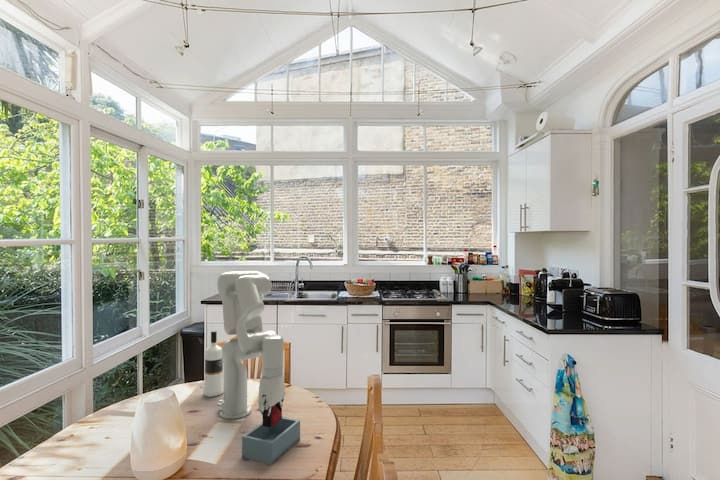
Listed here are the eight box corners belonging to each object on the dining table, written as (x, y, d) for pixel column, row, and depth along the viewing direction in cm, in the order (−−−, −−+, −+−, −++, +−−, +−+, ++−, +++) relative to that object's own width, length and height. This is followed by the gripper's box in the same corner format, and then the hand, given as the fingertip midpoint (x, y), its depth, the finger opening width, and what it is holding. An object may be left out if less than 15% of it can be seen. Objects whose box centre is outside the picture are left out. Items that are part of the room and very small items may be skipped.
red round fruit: (283, 424, 142) (284, 401, 142) (275, 431, 137) (275, 407, 137) (269, 421, 144) (269, 399, 144) (260, 428, 139) (260, 405, 139)
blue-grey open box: (242, 457, 134) (242, 436, 134) (272, 433, 151) (272, 415, 151) (272, 464, 130) (272, 443, 130) (300, 439, 147) (300, 420, 147)
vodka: (204, 391, 194) (204, 329, 195) (224, 389, 197) (224, 328, 197) (201, 398, 185) (202, 333, 186) (222, 396, 188) (223, 332, 188)
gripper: (277, 363, 150) (276, 411, 150) (248, 377, 134) (248, 431, 134) (294, 365, 147) (294, 414, 147) (267, 380, 131) (267, 435, 131)
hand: (272, 421), depth 141 cm, fingers closed on red round fruit, 5 cm apart
